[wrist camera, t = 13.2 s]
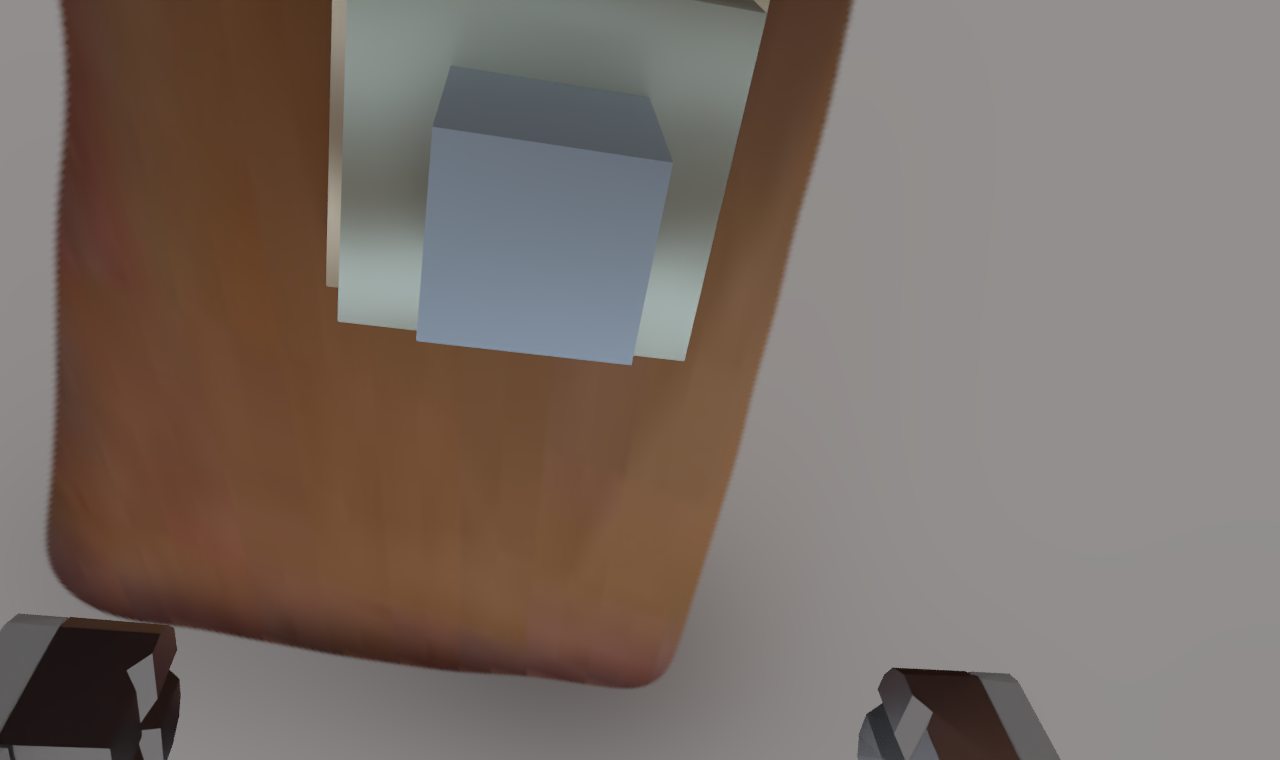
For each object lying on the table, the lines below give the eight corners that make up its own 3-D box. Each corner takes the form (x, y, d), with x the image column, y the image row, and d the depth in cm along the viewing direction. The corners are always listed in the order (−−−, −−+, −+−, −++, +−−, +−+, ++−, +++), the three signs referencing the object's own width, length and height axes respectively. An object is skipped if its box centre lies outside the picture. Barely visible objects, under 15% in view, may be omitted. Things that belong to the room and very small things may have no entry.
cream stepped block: (359, -143, 28) (303, -120, 22) (753, -66, 30) (816, -22, 24) (346, 236, 34) (300, 348, 28) (677, 278, 36) (709, 392, 30)
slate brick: (450, 65, 24) (432, 126, 20) (649, 97, 25) (673, 162, 20) (435, 251, 26) (416, 340, 22) (616, 274, 27) (631, 365, 23)
